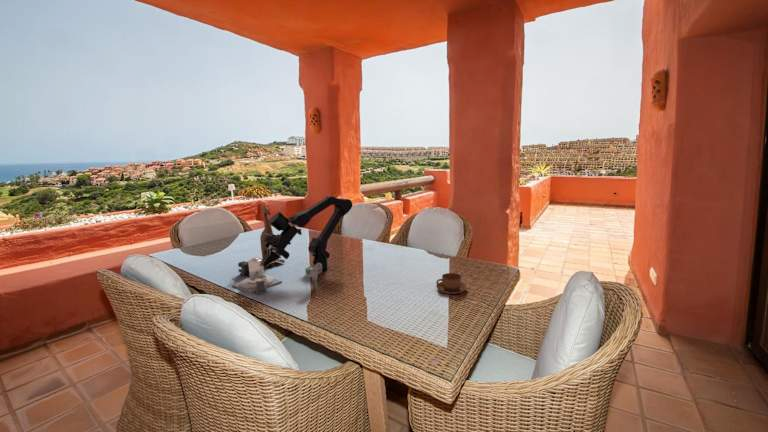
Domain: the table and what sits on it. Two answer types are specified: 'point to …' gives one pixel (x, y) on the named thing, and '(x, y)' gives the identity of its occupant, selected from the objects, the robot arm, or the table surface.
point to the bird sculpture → (268, 231)
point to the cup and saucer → (451, 284)
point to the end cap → (244, 268)
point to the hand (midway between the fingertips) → (263, 265)
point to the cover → (256, 270)
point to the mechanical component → (314, 273)
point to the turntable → (251, 287)
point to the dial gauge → (260, 286)
